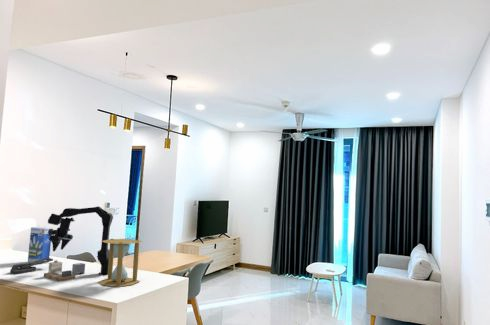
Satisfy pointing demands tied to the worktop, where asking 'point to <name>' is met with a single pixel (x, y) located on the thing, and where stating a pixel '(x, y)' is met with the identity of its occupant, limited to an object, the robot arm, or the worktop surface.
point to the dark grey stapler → (27, 266)
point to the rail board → (58, 272)
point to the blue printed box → (39, 244)
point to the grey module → (78, 268)
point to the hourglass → (120, 273)
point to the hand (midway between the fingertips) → (57, 250)
